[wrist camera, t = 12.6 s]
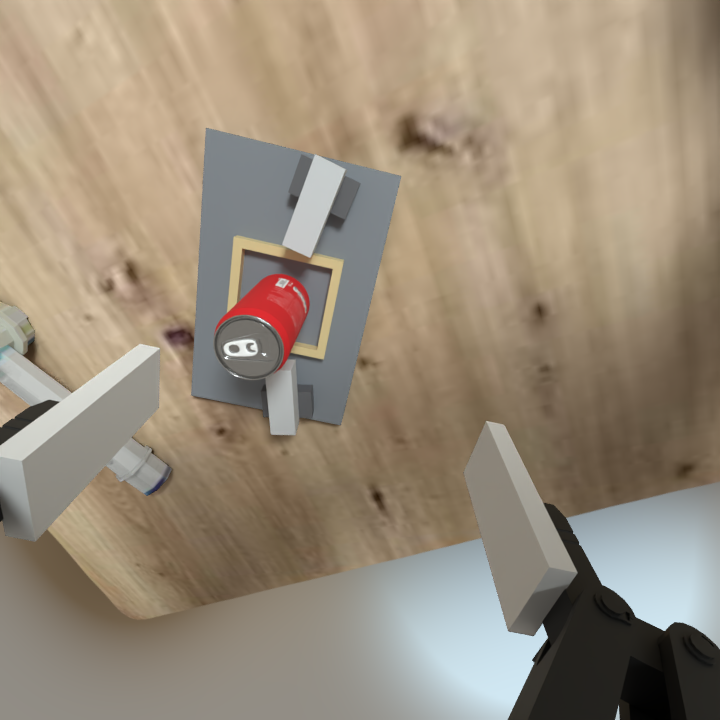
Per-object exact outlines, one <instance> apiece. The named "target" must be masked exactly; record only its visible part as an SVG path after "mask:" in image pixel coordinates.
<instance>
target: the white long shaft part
mask: <svg viewBox="0 0 720 720" xmlns="http://www.w3.org/2000/svg"><path fill="white" fill-rule="evenodd" d="M27 317H28V316H27V315H26V314H25V313H23V312H22V311H21V310H20V309H18V308H17V307H16V306H13V307H12V306H9V305H7V304H5V303H2V302H0V382H1V383H2V384H4V385H5V386H6V387H7V388H9V389H10V390H11V391H13V392H14V393H15V394H16V395H18V396H19V397H20V398H21V399H23V400H24V401H25V402H26V403H28V404H29V405H30V406H33V405H36V404H39V403H41V402H44V401H47V400H54V401H59V402H61V401H62V400H63V399H65V398H66V397H68V396H69V395H70V394H72V393H71V392H70V391H69V390H68V389H66V388H65V387H64V386H62V385H61V384H60V383H58V382H57V381H56V380H54V379H53V378H52V377H50V376H49V375H48V374H46V373H45V372H44V371H42V370H41V369H40V368H38V367H37V366H36V365H34V364H33V363H32V362H30V361H29V360H28V359H26V358H25V357H24V356H22V355H24V354H25V353H26V352H28V345H29V344H30V343H32V342H33V341H34V335H35V330H34V329H33V328H32V327H31V325H30V323H29V322H28V320H27V319H26V318H27ZM151 451H152V449H151V448H150V447H148V446H147V445H146V446H144V447H143V446H142V445H140V444H139V443H138V442H137V441H135V440H134V439H133V438H131V439H130V440H129V441H128V442H127V443H126V444H125V445H124V446H123V447H122V448H121V449H120V450H119V452H118V453H117V454H116V455H115V456H114V457H113V458H112V459H111V460H110V461H109V462H108V463H107V464H106V466H107V467H108V468H109V469H111V470H112V471H113V472H114V473H116V474H117V475H116V477H117V479H118V480H119V481H120V482H122V481H124V480H125V481H126V482H128V483H129V484H131V485H132V486H134V487H135V488H136V489H138V490H139V491H141V492H142V493H144V494H145V495H146V496H148V495H150V494H151V493H153V492H155V491H157V490H158V489H159V488H160V486H161V485H162V484H163V483H164V482H165V481H166V480H167V478H168V476H169V474H170V472H171V470H172V469H171V468H170V467H169V466H168V465H167V464H165V463H164V462H163V461H161V460H160V459H159V458H157V457H156V456H155V455H154V454H152V453H151Z"/></svg>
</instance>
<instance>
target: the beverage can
mask: <svg viewBox="0 0 720 720" xmlns="http://www.w3.org/2000/svg"><path fill="white" fill-rule="evenodd" d="M309 307H310V301H309V296H308V293H307V291H306V289H305V288H304V286H303V285H302V284H301V283H300V282H299V281H298V280H296V279H295V278H293V277H291V276H288V275H285V274H273V275H269V276H267V277H265V278H263V279H262V280H261V281H260V282H259V283H258V284H257V285H256V286H255V287H254V288H252V289H251V290H250V291H249V292H248V293H247V294H246V295H245V296H244V297H243V298H242V299H241V300H240V301H239V302H238V303H237V304H236V305H235V306H234V307H233V308H232V309H231V310H230V311H229V312H227V313H226V314H225V315H224V316H223V317H222V318H221V320H220V321H219V323H218V324H217V326H216V329H215V333H214V340H213V347H214V352H215V355H216V357H217V359H218V361H219V363H220V364H221V365H222V366H223V368H225V369H226V370H227V371H228V372H229V373H231V374H232V375H234V376H236V377H238V378H242V379H246V380H260V379H264V378H266V377H268V376H270V375H272V374H274V373H275V372H277V371H278V370H280V369H281V368H282V367H283V365H284V364H285V362H286V361H287V359H288V357H289V354H290V352H291V350H292V348H293V345H294V343H295V341H296V339H297V337H298V334H299V332H300V330H301V328H302V325H303V323H304V321H305V319H306V317H307V314H308V312H309Z"/></svg>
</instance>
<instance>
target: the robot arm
mask: <svg viewBox="0 0 720 720" xmlns="http://www.w3.org/2000/svg"><path fill="white" fill-rule="evenodd" d="M159 379H160V348H157V347H152V346H148V345H143V344H139V345H138V346H136V347H135V348H134V349H132V350H131V351H129V352H128V353H127V354H125V355H124V356H123V357H121V358H120V359H118V360H117V361H116V362H114V363H113V364H112V365H110V366H109V367H107V368H106V369H105V370H103V371H102V372H101V373H99V374H98V375H96V376H95V377H94V378H92V379H91V380H90V381H88V382H87V383H85V384H84V385H83V386H81V387H80V388H79V389H77V390H76V391H74V392H73V393H72V394H70V395H69V396H68V397H66V398H65V399H63V400H62V401H61V402H59V401H54V400H47V401H44V402H41V403H39V404H36V405H33V406H31V407H29V408H27V409H26V410H24V411H23V412H21V413H20V414H18V415H17V416H16V417H15V419H11V420H10V421H8V422H7V423H5V424H4V425H3V427H2V428H1V427H0V522H1V521H3V526H4V531H5V535H6V536H9V537H14V538H20V539H25V540H30V541H36V540H37V539H38V538H39V537H40V536H41V535H42V534H43V533H44V532H45V530H46V529H47V528H48V527H49V526H50V525H51V524H52V523H53V522H54V521H55V520H56V519H57V518H58V516H59V515H60V514H61V513H62V512H63V511H64V510H65V509H66V508H67V507H68V506H69V505H70V503H71V502H72V501H73V500H74V499H75V498H76V497H77V496H78V495H79V494H80V493H81V492H82V490H83V489H84V488H85V487H86V486H87V485H88V484H89V483H90V482H91V481H92V480H93V479H94V477H95V476H96V475H97V474H98V473H99V472H100V471H101V470H102V469H103V468H104V467H105V466H106V464H107V463H108V462H109V461H110V460H111V459H112V458H113V457H114V456H115V455H116V454H117V453H118V452H119V450H120V449H121V448H122V447H123V446H124V445H125V444H126V443H127V442H128V441H129V440H130V439H131V437H132V436H133V435H134V434H135V433H136V432H137V431H138V430H139V429H140V428H141V427H142V426H143V424H144V423H145V422H146V421H147V420H148V419H149V418H150V417H151V416H152V415H153V414H154V413H155V411H156V410H157V409H158V408H159ZM463 473H464V477H465V480H466V484H467V487H468V491H469V494H470V498H471V501H472V505H473V509H474V512H475V516H476V519H477V523H478V526H479V530H480V533H481V537H482V540H483V544H484V548H485V551H486V555H487V558H488V562H489V565H490V569H491V572H492V576H493V579H494V583H495V587H496V590H497V594H498V597H499V601H500V604H501V608H502V611H503V615H504V618H505V622H506V625H507V629H508V631H509V632H514V633H520V634H525V635H530V636H534V635H535V634H536V632H537V631H538V629H539V628H540V626H541V625H542V624H543V625H544V627H545V630H546V633H547V636H548V639H547V640H546V641H545V643H544V644H543V646H542V647H541V648H540V650H539V651H538V653H537V654H536V655H535V657H534V658H533V660H532V661H534V662H535V663H534V665H533V667H532V670H531V672H530V674H529V676H528V678H527V680H526V682H525V684H524V686H523V689H522V691H521V693H520V695H519V697H518V699H517V701H516V703H515V705H514V708H513V710H512V712H511V714H510V716H509V718H508V720H615V717H616V713H617V709H618V705H619V714H620V720H720V649H719V648H718V647H717V646H716V644H714V643H713V642H712V641H711V640H710V639H709V638H708V637H706V635H704V634H703V633H701V632H700V631H698V630H697V629H695V628H694V627H692V626H689V625H687V624H684V623H677V622H674V623H673V624H672V625H670V626H669V627H668V628H667V629H666V631H663V630H661V629H659V628H657V627H655V626H653V625H651V624H649V623H646V622H644V621H642V620H640V619H638V618H636V617H635V615H634V613H633V611H632V609H631V608H630V607H629V605H628V604H627V603H626V602H625V600H623V598H621V597H620V596H619V595H618V594H617V593H615V592H614V591H612V590H611V589H609V588H607V587H605V586H603V585H602V584H601V582H600V580H599V578H598V577H597V575H596V573H595V571H594V569H593V567H592V566H591V564H590V562H589V560H588V558H587V556H586V554H585V553H584V551H583V549H582V547H581V546H580V545H579V541H578V540H577V538H576V536H575V535H574V534H573V530H572V528H571V527H570V525H569V523H568V521H567V519H566V518H565V517H564V516H563V514H562V513H561V512H560V511H559V510H558V509H557V508H556V507H555V506H554V505H551V504H546V503H543V502H542V500H541V498H540V496H539V494H538V492H537V490H536V488H535V486H534V484H533V482H532V480H531V478H530V476H529V474H528V472H527V470H526V468H525V466H524V464H523V462H522V460H521V458H520V456H519V453H518V451H517V449H516V447H515V445H514V443H513V441H512V439H511V437H510V435H509V433H508V431H507V429H506V427H505V425H503V424H498V423H494V422H489V421H486V422H485V425H484V427H483V429H482V431H481V434H480V436H479V438H478V441H477V443H476V445H475V447H474V450H473V452H472V454H471V456H470V459H469V461H468V463H467V466H466V468H465V470H464V472H463Z"/></svg>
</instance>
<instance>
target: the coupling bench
mask: <svg viewBox="0 0 720 720" xmlns="http://www.w3.org/2000/svg"><path fill="white" fill-rule="evenodd" d="M400 179H401V176H399V175H395V174H391V173H387V172H383V171H379V170H374V169H370V168H366V167H362V166H358V165H354V164H350V163H346V162H342V161H338V160H334V159H330V158H326V157H322V156H318V155H316V154H315V155H314V154H310V153H306V152H302V151H298V150H294V149H290V148H286V147H282V146H278V145H274V144H270V143H265V142H261V141H257V140H253V139H249V138H245V137H241V136H237V135H233V134H229V133H225V132H221V131H217V130H213V129H209V128H206V137H205V155H204V174H203V192H202V210H201V228H200V247H199V265H198V283H197V301H196V319H195V338H194V356H193V374H192V392H191V395H192V396H197V397H202V398H207V399H212V400H217V401H222V402H227V403H232V404H237V405H242V406H247V407H252V408H257V409H262V410H263V417H269V420H270V431H271V435H296V432H297V428H298V425H299V418H307V419H312V420H317V421H322V422H327V423H332V424H337V425H341V423H342V418H343V414H344V410H345V406H346V402H347V398H348V394H349V390H350V385H351V381H352V377H353V373H354V369H355V365H356V361H357V357H358V352H359V348H360V344H361V340H362V336H363V332H364V328H365V324H366V319H367V315H368V311H369V307H370V303H371V299H372V295H373V291H374V286H375V282H376V278H377V274H378V270H379V266H380V262H381V258H382V253H383V249H384V245H385V241H386V237H387V233H388V229H389V225H390V220H391V216H392V212H393V208H394V204H395V200H396V196H397V192H398V187H399V183H400ZM273 274H285V275H288V276H291V277H293V278H295V279H296V280H298V281H299V282H300V283H301V284H302V285H303V286H304V288H305V289H306V291H307V293H308V296H309V301H310V307H309V312H308V314H307V317H306V319H305V321H304V323H303V325H302V328H301V330H300V332H299V334H298V337H297V339H296V341H295V343H294V345H293V348H292V350H291V352H290V354H289V357H288V359H287V361H286V362H285V364H284V365H283V367H282V368H281V369H280V370H278V371H277V372H275V373H274V374H272V375H270V376H268V377H266V378H264V379H260V380H246V379H242V378H238V377H236V376H234V375H232V374H231V373H229V372H228V371H227V370H226V369H225V368H223V366H222V365H221V364H220V363H219V361H218V359H217V357H216V355H215V352H214V347H213V340H214V333H215V329H216V326H217V324H218V323H219V321H220V320H221V318H222V317H223V316H224V315H225V314H226V313H227V312H229V311H230V310H231V309H232V308H233V307H234V306H235V305H236V304H237V303H238V302H239V301H240V300H241V299H242V298H243V297H244V296H245V295H246V294H247V293H248V292H249V291H250V290H251V289H252V288H254V287H255V286H256V285H257V284H258V283H259V282H260V281H261V280H262V279H263V278H265V277H267V276H269V275H273Z"/></svg>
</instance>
